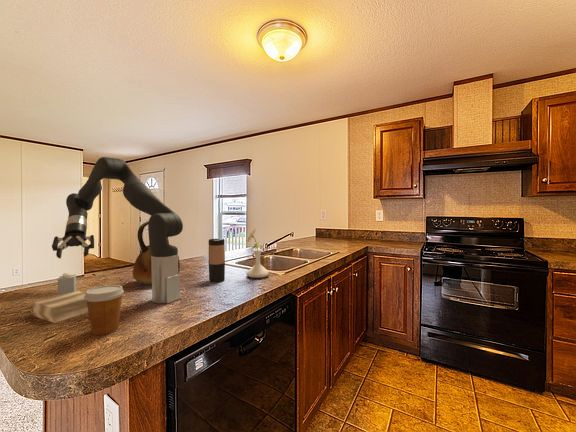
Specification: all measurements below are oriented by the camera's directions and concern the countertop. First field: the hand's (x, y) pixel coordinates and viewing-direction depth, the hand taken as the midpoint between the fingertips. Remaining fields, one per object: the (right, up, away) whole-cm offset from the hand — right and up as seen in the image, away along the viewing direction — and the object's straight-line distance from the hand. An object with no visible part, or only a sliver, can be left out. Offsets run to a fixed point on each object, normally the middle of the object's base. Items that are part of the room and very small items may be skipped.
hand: (72, 256), depth 114 cm
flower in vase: (+75, -14, +24) cm, 80 cm away
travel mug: (+56, -15, +18) cm, 61 cm away
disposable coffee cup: (+38, -16, -36) cm, 54 cm away
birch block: (+15, -16, -22) cm, 31 cm away
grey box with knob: (+6, -15, -10) cm, 19 cm away
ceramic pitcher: (+28, -15, +15) cm, 35 cm away
